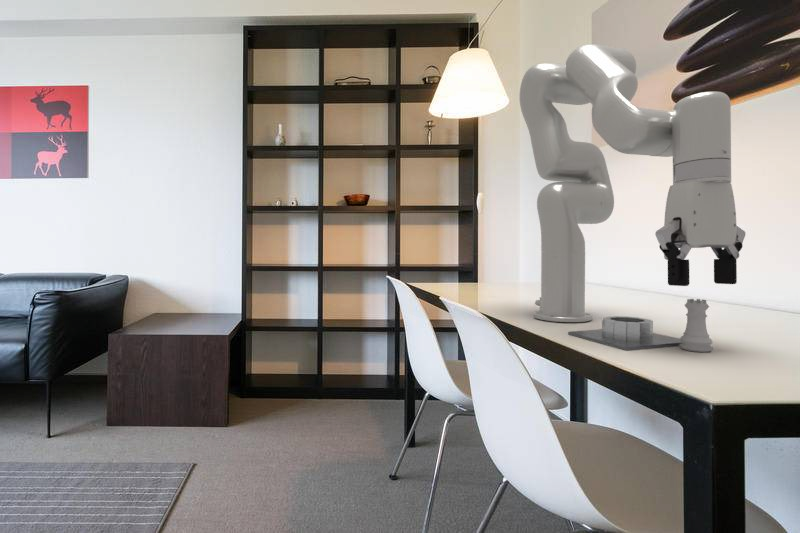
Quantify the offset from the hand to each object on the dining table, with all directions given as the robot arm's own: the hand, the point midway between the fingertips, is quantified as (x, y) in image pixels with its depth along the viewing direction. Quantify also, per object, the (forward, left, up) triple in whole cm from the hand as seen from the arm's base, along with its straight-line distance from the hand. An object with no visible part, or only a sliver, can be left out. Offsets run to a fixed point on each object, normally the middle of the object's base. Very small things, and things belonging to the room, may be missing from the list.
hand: (702, 284), depth 68 cm
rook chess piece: (-1, 0, -11) cm, 11 cm away
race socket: (-11, -4, -11) cm, 16 cm away
